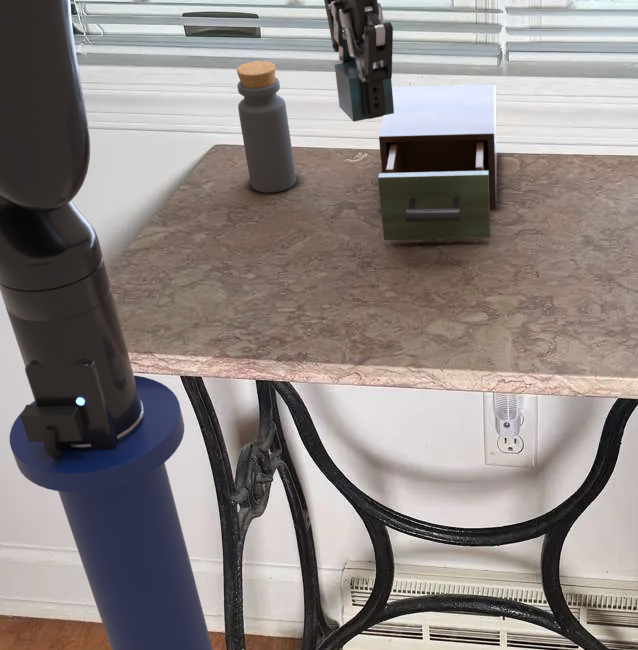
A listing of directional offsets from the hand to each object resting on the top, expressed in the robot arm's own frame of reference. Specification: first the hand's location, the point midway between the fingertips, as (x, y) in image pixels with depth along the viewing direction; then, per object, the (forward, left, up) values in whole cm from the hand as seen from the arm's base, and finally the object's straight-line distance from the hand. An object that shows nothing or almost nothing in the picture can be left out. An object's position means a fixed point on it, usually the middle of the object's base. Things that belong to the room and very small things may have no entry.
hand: (366, 107), depth 121 cm
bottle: (+25, +16, -20) cm, 35 cm away
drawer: (+12, -6, -19) cm, 23 cm away
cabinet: (+24, -6, -19) cm, 31 cm away
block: (0, 0, 0) cm, 0 cm away
